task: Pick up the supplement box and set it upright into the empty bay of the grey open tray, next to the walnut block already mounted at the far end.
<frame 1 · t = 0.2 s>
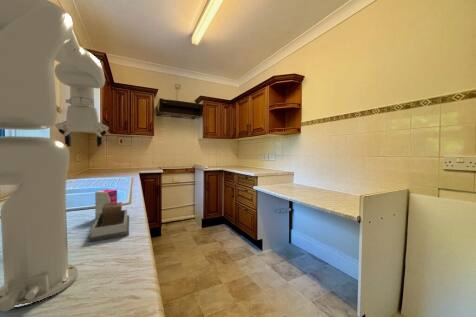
hand: (84, 146, 82), 30 cm above the countertop, tool pointing down, fingers open, 9 cm apart
grey open tray: (111, 228, 73), on the countertop
supplement box: (106, 217, 86), on the countertop
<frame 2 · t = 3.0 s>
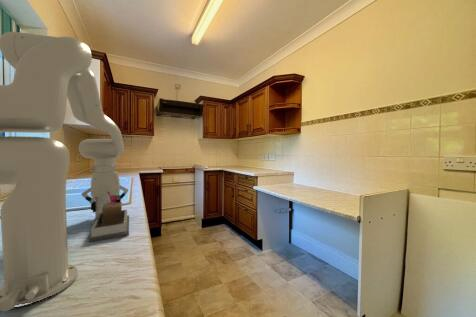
hand: (106, 209, 86), 3 cm above the countertop, tool pointing down, fingers closed on supplement box, 8 cm apart
supplement box: (106, 217, 86), on the countertop, touching gripper
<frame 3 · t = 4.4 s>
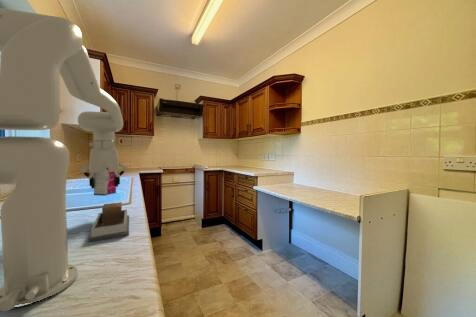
hand: (105, 186, 85), 13 cm above the countertop, tool pointing down, fingers closed on supplement box, 8 cm apart
supplement box: (105, 194, 85), point 10 cm above the countertop, touching gripper
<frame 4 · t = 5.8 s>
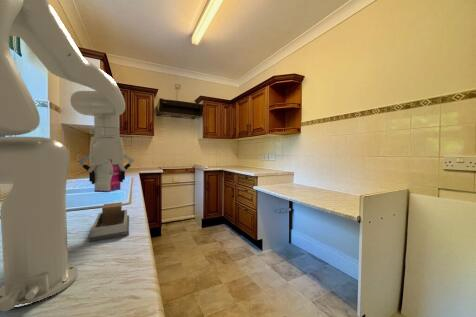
hand: (108, 182, 72), 17 cm above the countertop, tool pointing down, fingers closed on supplement box, 8 cm apart
supplement box: (108, 191, 72), point 14 cm above the countertop, touching gripper
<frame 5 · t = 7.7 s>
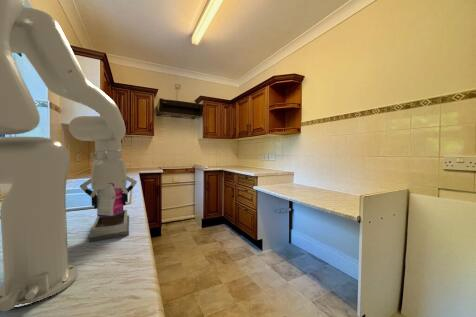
hand: (110, 205, 70), 9 cm above the countertop, tool pointing down, fingers closed on supplement box, 8 cm apart
supplement box: (111, 214, 71), point 6 cm above the countertop, touching gripper
when the fingers open (6 cm above the countertop, at t = 9.0 s): supplement box drops 1 cm, resting on grey open tray.
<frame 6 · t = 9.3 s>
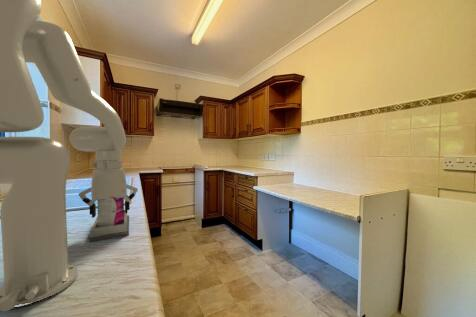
hand: (110, 214, 70), 6 cm above the countertop, tool pointing down, fingers open, 9 cm apart
supplement box: (111, 228, 71), point 1 cm above the countertop, touching grey open tray
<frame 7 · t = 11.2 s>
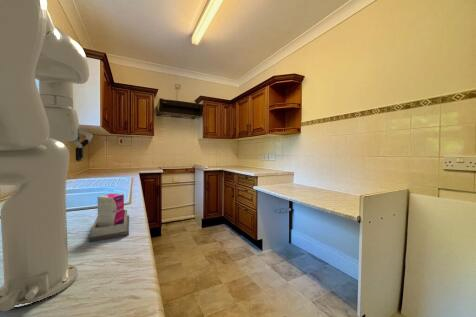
hand: (59, 161, 61), 25 cm above the countertop, tool pointing down, fingers open, 9 cm apart
nothing on the countertop moved.
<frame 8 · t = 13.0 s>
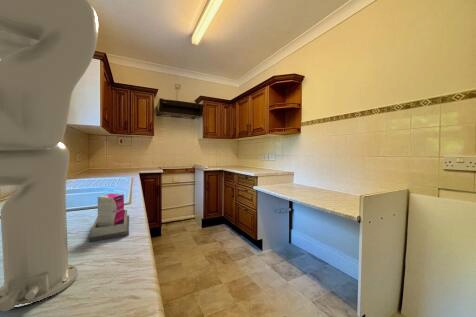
hand: (28, 152, 57), 28 cm above the countertop, tool pointing down, fingers open, 9 cm apart
nothing on the countertop moved.
at the end: supplement box 0.2 cm from the target spot on the grey open tray, point 1.3 cm above the grey open tray's base; supplement box tilted 0°; the gripper is holding nothing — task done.
